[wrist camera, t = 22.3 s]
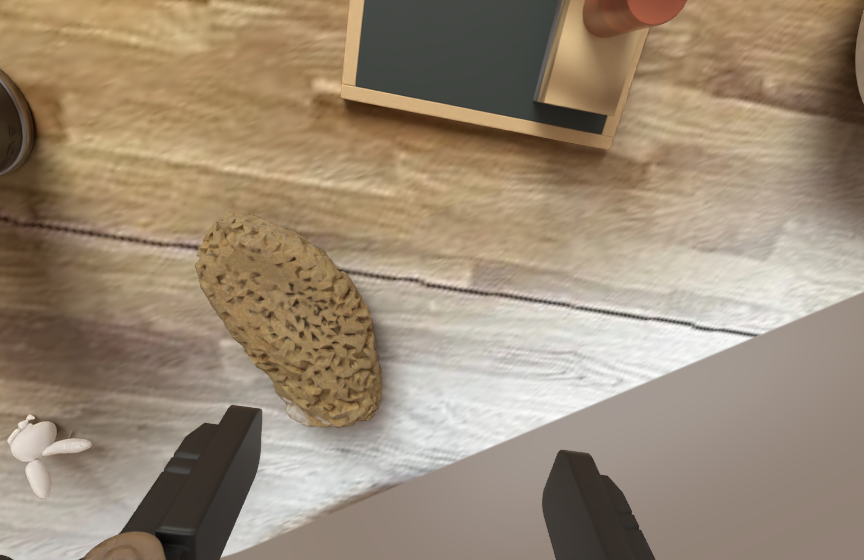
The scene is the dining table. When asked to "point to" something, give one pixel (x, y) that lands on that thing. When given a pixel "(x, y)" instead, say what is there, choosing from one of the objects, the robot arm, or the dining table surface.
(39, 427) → the rabbit figurine
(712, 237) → the dining table surface
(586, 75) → the eraser
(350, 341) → the sponge
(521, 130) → the board
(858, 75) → the serving bowl
